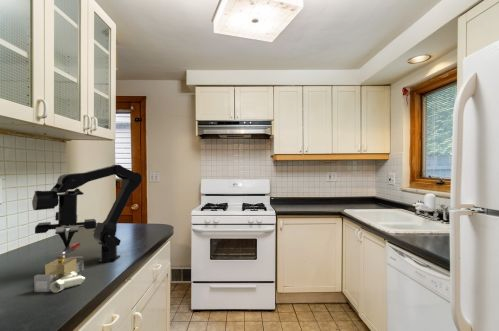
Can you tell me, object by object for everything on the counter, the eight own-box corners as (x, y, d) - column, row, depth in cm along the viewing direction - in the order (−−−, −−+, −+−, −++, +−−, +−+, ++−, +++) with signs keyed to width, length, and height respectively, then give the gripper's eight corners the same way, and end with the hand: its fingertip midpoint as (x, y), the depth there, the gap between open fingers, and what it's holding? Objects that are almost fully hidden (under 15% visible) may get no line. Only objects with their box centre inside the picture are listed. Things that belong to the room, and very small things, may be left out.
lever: (63, 258, 92) (63, 253, 92) (53, 258, 92) (53, 253, 92) (81, 246, 104) (81, 242, 104) (73, 247, 104) (72, 242, 104)
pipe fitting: (86, 283, 92) (67, 281, 92) (87, 271, 92) (68, 270, 92) (71, 294, 84) (49, 293, 84) (71, 282, 84) (50, 280, 84)
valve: (69, 269, 102) (69, 248, 102) (86, 269, 102) (85, 248, 102) (31, 292, 84) (31, 267, 84) (52, 291, 84) (51, 266, 84)
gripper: (96, 203, 112) (95, 240, 112) (40, 205, 103) (39, 246, 103) (96, 206, 103) (95, 247, 103) (35, 210, 93) (34, 254, 93)
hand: (67, 248), depth 101 cm, fingers closed
